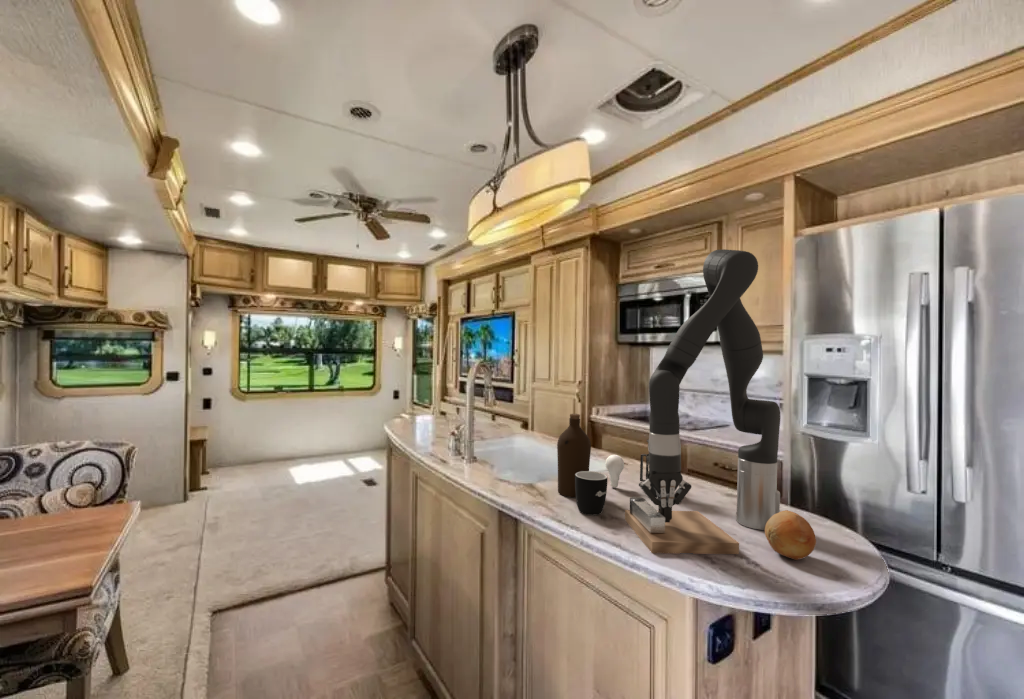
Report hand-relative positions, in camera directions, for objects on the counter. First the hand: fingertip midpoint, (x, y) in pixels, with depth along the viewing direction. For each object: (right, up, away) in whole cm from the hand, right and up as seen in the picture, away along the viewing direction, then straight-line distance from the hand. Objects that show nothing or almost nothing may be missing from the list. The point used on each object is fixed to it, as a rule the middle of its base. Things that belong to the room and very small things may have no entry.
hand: (665, 521), depth 109 cm
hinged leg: (-4, -1, +2) cm, 5 cm away
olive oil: (-19, -3, +31) cm, 37 cm away
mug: (-15, -3, +17) cm, 22 cm away
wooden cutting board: (+3, -4, 0) cm, 5 cm away
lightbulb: (-4, -4, +38) cm, 39 cm away
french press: (+9, -4, +34) cm, 35 cm away
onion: (+24, -4, -10) cm, 27 cm away
